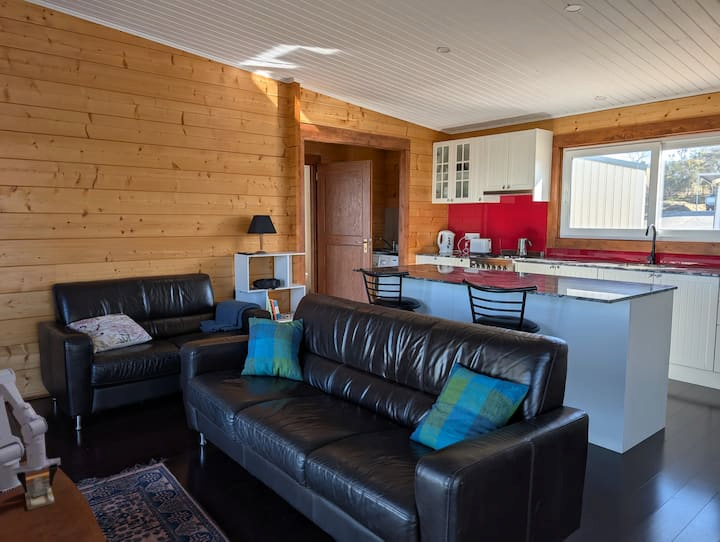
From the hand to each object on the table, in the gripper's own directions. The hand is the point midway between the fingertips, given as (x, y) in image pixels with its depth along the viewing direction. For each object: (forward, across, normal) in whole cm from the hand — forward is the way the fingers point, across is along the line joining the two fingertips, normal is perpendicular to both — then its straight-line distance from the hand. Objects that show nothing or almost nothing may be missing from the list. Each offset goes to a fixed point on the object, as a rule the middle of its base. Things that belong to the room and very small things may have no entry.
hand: (38, 488), depth 188 cm
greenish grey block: (+2, 0, 0) cm, 2 cm away
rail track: (+3, 0, -1) cm, 3 cm away
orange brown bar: (-1, 0, +4) cm, 4 cm away
